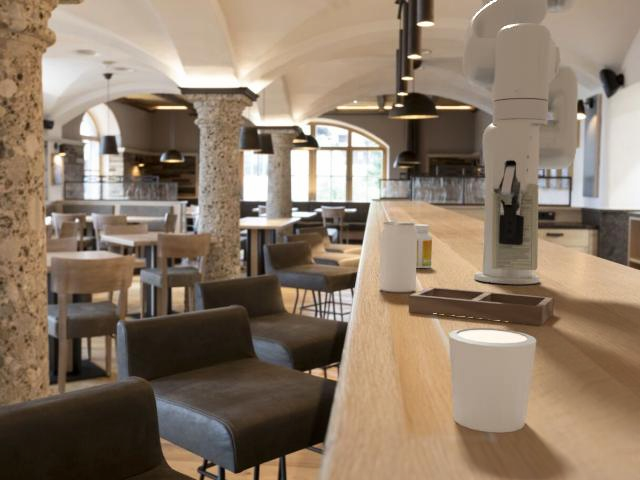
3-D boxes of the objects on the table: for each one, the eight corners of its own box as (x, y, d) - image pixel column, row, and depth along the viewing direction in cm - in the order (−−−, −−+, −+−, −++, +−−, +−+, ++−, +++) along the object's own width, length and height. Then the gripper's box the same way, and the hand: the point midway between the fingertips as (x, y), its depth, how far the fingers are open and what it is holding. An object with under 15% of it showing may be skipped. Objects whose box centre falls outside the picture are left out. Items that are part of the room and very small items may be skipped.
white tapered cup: (436, 407, 60) (439, 326, 60) (514, 406, 61) (518, 326, 60) (458, 436, 54) (462, 345, 53) (546, 434, 54) (550, 345, 54)
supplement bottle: (430, 266, 163) (431, 224, 162) (431, 269, 157) (433, 225, 156) (406, 265, 163) (407, 223, 162) (407, 268, 158) (408, 225, 157)
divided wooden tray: (429, 302, 113) (430, 286, 113) (553, 314, 105) (553, 297, 105) (408, 312, 105) (409, 295, 104) (541, 325, 96) (542, 307, 96)
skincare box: (537, 268, 103) (541, 184, 102) (536, 271, 99) (540, 184, 98) (492, 266, 105) (495, 183, 104) (489, 269, 101) (492, 183, 100)
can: (414, 294, 122) (416, 224, 121) (376, 292, 123) (378, 223, 122) (416, 288, 128) (418, 222, 127) (381, 287, 129) (382, 221, 128)
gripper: (506, 121, 110) (501, 238, 111) (478, 109, 94) (473, 245, 96) (556, 120, 106) (551, 241, 108) (536, 107, 91) (530, 248, 92)
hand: (514, 241), depth 102 cm, fingers closed on skincare box, 4 cm apart
